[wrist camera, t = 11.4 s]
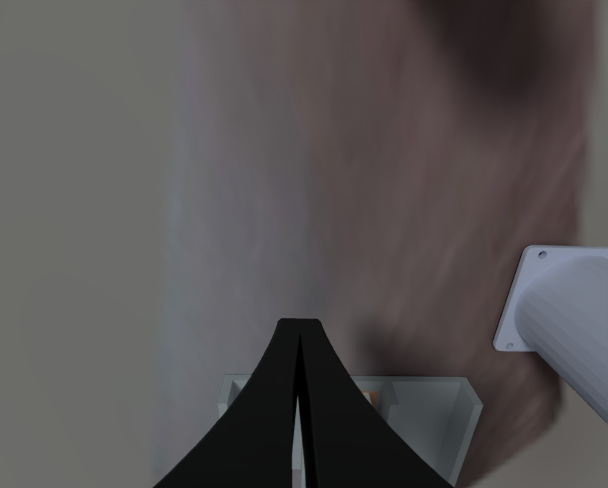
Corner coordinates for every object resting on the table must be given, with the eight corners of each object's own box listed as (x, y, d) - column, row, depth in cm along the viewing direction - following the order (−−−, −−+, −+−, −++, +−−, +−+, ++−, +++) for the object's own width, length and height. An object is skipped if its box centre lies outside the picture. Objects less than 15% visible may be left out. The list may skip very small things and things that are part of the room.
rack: (465, 376, 24) (483, 405, 22) (438, 463, 28) (451, 494, 26) (225, 374, 24) (218, 403, 21) (232, 463, 28) (226, 495, 25)
